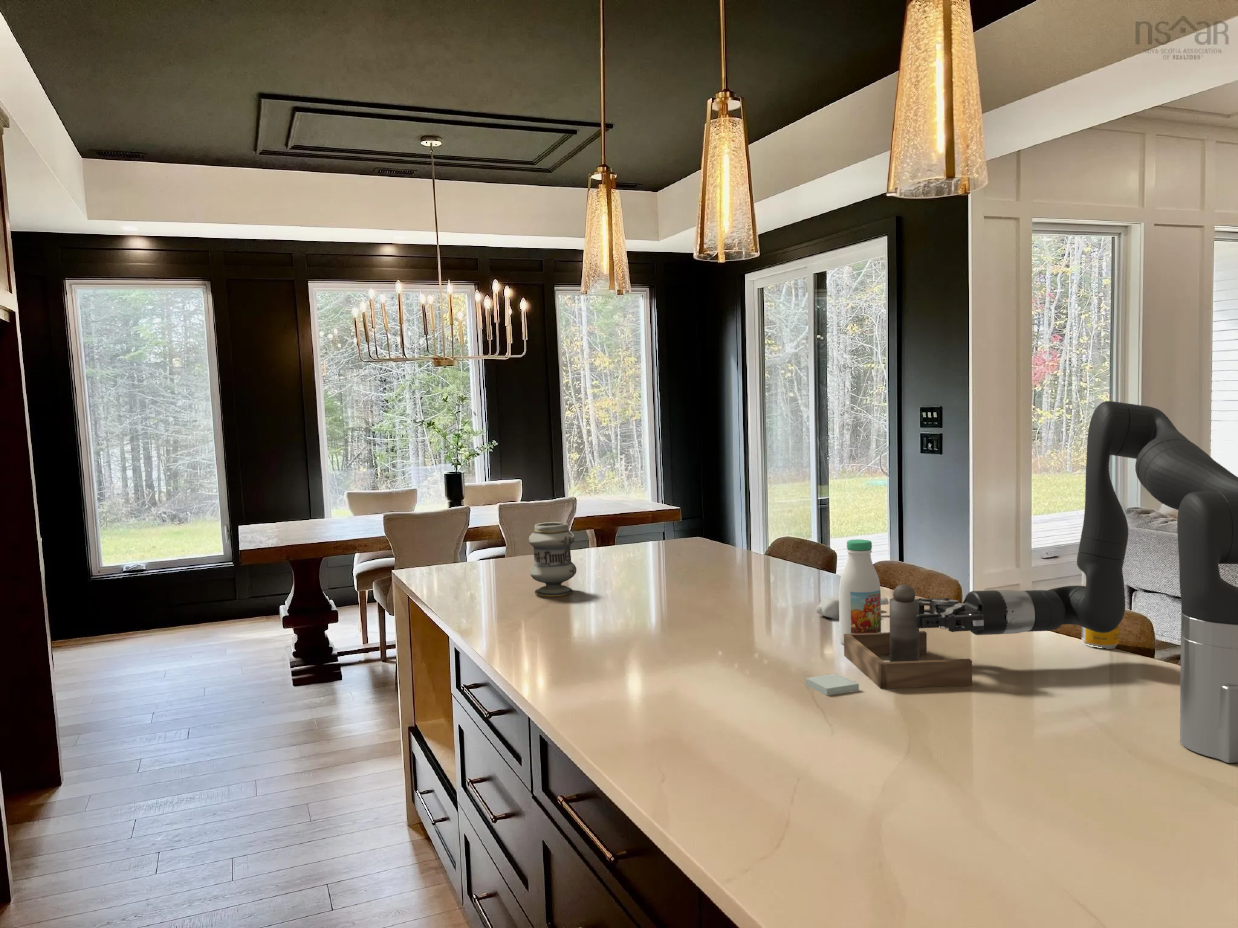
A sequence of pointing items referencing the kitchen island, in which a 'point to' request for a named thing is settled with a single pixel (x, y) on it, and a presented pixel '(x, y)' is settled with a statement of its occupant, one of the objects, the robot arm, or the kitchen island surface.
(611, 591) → the kitchen island surface
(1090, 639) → the beer can
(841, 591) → the milk bottle
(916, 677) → the box
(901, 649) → the pepper mill
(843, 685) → the ceramic tile
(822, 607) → the bunny figurine
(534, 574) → the apothecary jar
